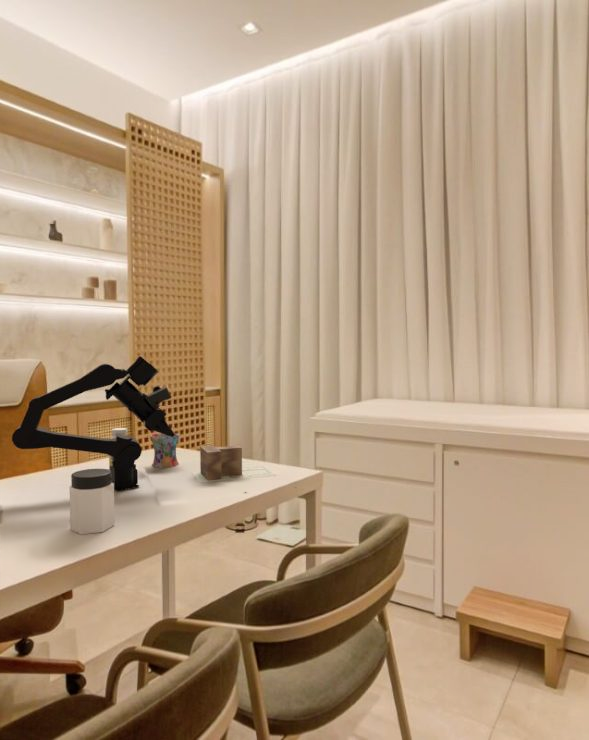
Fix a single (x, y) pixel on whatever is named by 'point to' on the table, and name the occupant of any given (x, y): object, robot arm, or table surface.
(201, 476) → the board
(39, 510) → the table surface
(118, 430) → the supplement bottle
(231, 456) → the t block
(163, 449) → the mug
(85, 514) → the jar
